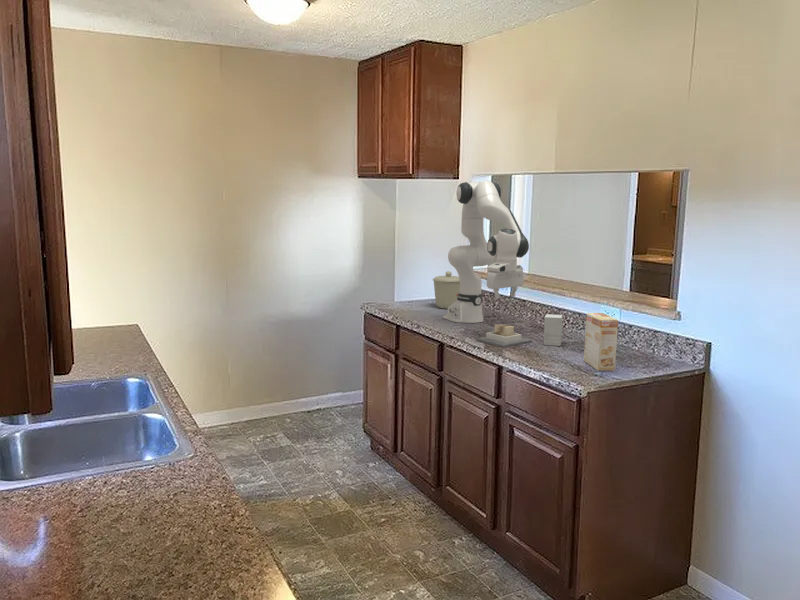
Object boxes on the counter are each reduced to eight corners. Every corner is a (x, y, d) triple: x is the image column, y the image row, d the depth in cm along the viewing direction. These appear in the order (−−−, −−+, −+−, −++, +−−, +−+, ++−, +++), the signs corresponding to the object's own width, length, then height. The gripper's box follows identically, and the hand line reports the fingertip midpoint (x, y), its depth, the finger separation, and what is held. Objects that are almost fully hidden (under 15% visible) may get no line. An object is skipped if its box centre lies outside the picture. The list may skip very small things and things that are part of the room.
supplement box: (561, 342, 293) (563, 314, 291) (560, 346, 286) (561, 317, 284) (545, 341, 295) (546, 313, 293) (542, 345, 288) (544, 316, 286)
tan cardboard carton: (494, 338, 295) (494, 325, 295) (502, 337, 298) (502, 324, 298) (505, 341, 290) (506, 327, 289) (513, 339, 293) (514, 326, 292)
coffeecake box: (615, 370, 247) (619, 319, 244) (597, 371, 246) (600, 319, 243) (600, 360, 262) (603, 312, 258) (583, 361, 261) (585, 312, 258)
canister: (429, 305, 388) (430, 269, 384) (460, 304, 390) (461, 269, 386) (434, 310, 370) (435, 273, 367) (466, 310, 372) (467, 273, 369)
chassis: (475, 340, 296) (476, 332, 295) (503, 335, 306) (504, 328, 306) (503, 347, 282) (503, 339, 282) (531, 342, 293) (532, 334, 293)
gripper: (517, 264, 298) (516, 294, 300) (484, 266, 285) (483, 298, 288) (527, 265, 293) (526, 296, 295) (495, 268, 280) (494, 300, 283)
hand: (505, 297), depth 291 cm, fingers open, 8 cm apart
